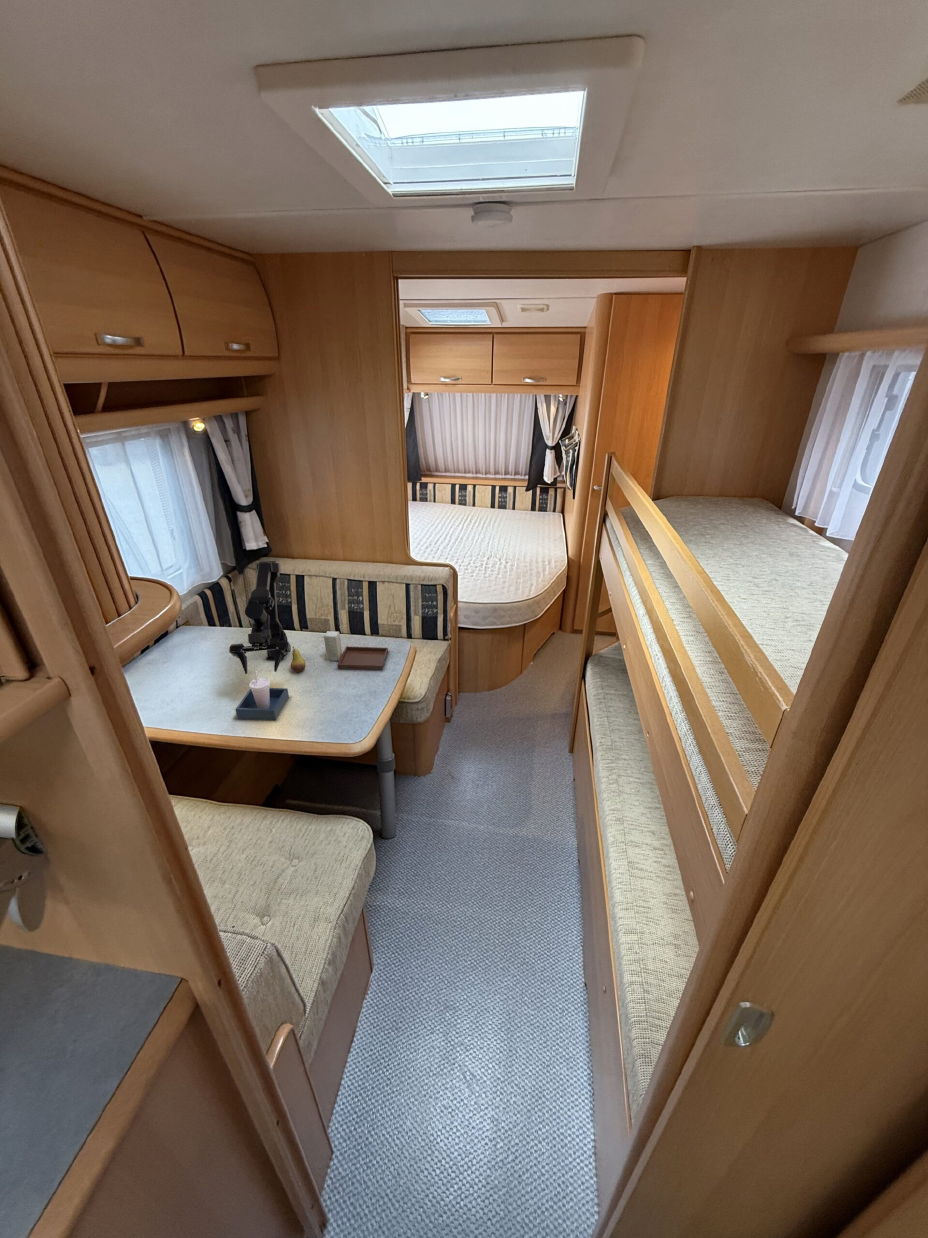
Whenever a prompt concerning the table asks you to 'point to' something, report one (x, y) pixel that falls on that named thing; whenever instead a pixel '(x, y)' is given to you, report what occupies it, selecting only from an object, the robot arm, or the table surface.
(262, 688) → the smoothie
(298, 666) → the fruit
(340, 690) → the table surface
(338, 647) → the box
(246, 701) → the bin
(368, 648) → the tray
